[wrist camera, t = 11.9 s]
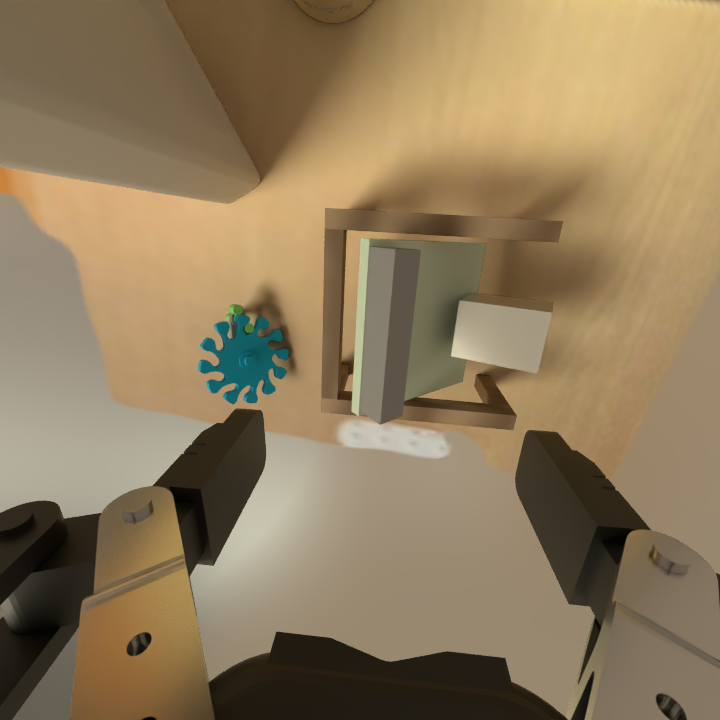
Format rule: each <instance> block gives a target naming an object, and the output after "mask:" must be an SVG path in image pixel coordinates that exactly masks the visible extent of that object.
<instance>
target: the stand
mask: <svg viewBox="0 0 720 720" xmlns="http://www.w3.org/2000/svg"><path fill="white" fill-rule="evenodd" d="M562 224H563V221H547V220H529V219H511V218H494V217H476V216H458V215H440V214H422V213H404V212H386V211H368V210H351V209H333V208H325V247H324V297H323V348H322V399H321V412H324V413H335V414H345V415H356V414H354V413H353V412H352V411H351V410H352V392H350V391H344V389H345V385H346V382H347V379H348V375H349V364H343V363H341V359H342V334H343V309H344V284H345V259H346V234H347V230H357V231H374V232H390V233H407V234H424V235H441V236H457V237H474V238H491V239H508V240H524V241H541V242H558V241H559V237H560V233H561V229H562ZM475 388H476V390H477V392H478V394H479V396H480V398H481V400H482V402H483V403H474V402H463V401H452V400H441V399H429V398H418V397H415V398H412V399H409V400H406V401H404V407H403V416H402V417H399V418H397V419H399V420H410V421H421V422H432V423H442V424H453V425H464V426H475V427H485V428H496V429H507V430H513V429H514V425H515V421H516V417H517V416H516V414H515V413H514V411H513V410H512V408H511V407H510V405H509V404H508V402H507V401H506V399H505V398H504V396H503V395H502V393H501V392H500V390H499V389H498V387H497V386H496V384H495V383H494V381H493V380H492V378H491V377H490V376H486V375H476V381H475ZM356 416H357V415H356ZM361 416H367V415H365V414H364V415H361ZM367 417H368V416H367Z"/></svg>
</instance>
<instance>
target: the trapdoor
mask: <svg viewBox="0 0 720 720" xmlns="http://www.w3.org/2000/svg"><path fill="white" fill-rule="evenodd" d="M485 248H486V244H482V243H461V242H438V241H414V240H390V239H366V238H361V242H360V260H359V279H358V298H357V316H356V335H355V354H354V373H353V391H352V410H351V411H352V412H353V413H354V414H356V415H357V416H361V415H364V414H365V415H367V416H368V417H370V418H371V419H373V420H374V421H376V422H377V423H379V424H383V423H386V422H389V421H391V420H394V419H397V418H399V417H402V416H403V407H404V401H406V400H409V399H412V398H415V397H418V396H421V395H424V394H427V393H430V392H433V391H436V390H439V389H442V388H445V387H448V386H451V385H454V384H457V383H460V382H463V376H464V370H465V364H466V359H462V358H457V357H452V356H451V353H452V346H453V339H454V333H455V326H456V319H457V312H458V306H459V300H461V299H462V298H464V297H465V296H467V295H469V294H470V293H478V288H479V283H480V277H481V271H482V265H483V259H484V254H485Z"/></svg>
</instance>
